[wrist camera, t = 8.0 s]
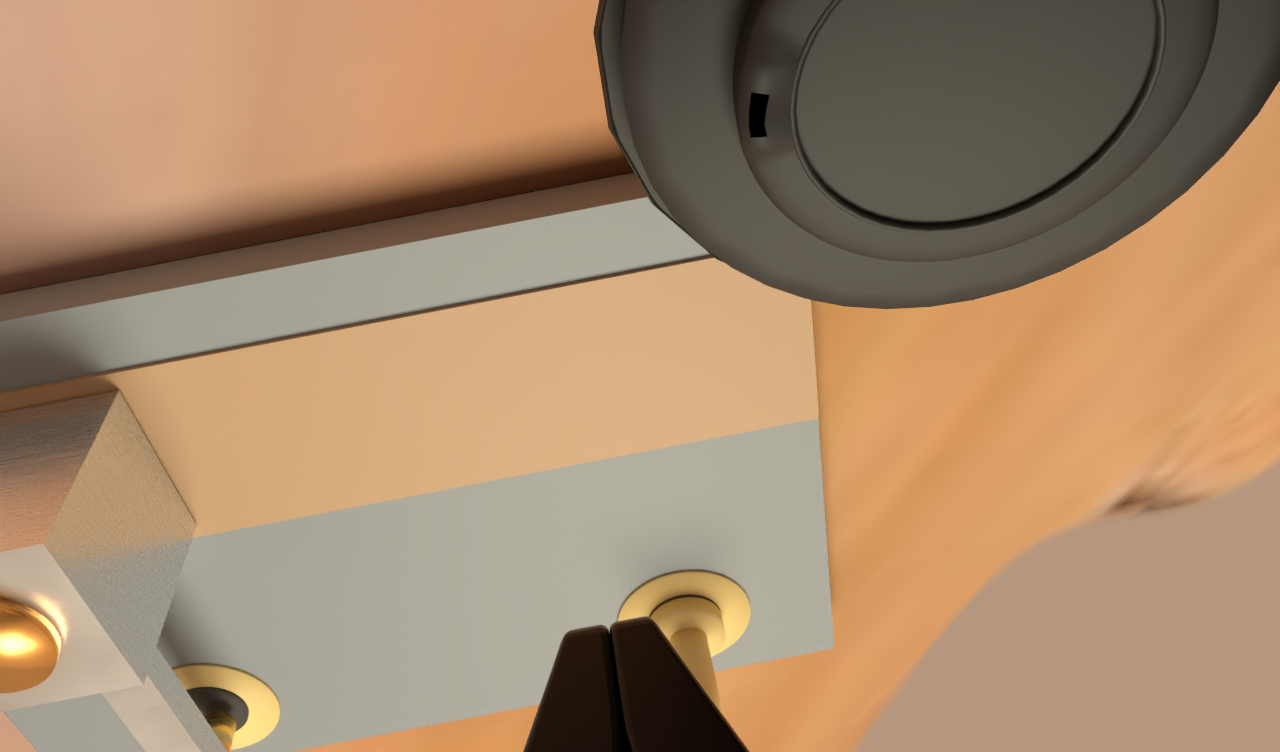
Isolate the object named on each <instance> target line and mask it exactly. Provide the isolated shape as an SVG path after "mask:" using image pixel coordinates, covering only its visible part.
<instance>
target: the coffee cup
mask: <svg viewBox="0 0 1280 752" xmlns="http://www.w3.org/2000/svg"><path fill="white" fill-rule="evenodd" d="M594 38H595V45H596V51H597V57H598V63H599V70H600V76H601V82H602V89H603V95H604V101H605V108H606V114H607V120H608V127H609V129H610V131H611V133H612V135H613V136H614V138H615V140H616V142H617V143H618V145H619V147H620V149H621V151H622V152H623V154H624V156H625V158H626V159H627V161H628V163H629V165H630V166H631V168H632V170H633V172H634V174H635V175H636V177H637V179H638V181H639V182H640V184H641V186H642V188H643V189H644V191H645V193H646V195H647V197H648V198H649V200H650V202H651V204H653V205H654V206H655V207H656V208H657V209H658V210H660V211H661V212H662V213H663V214H664V215H665V216H667V217H668V218H669V219H670V220H671V221H672V222H674V223H675V224H676V225H677V226H678V227H679V228H681V229H682V230H683V231H684V232H685V233H686V234H688V235H689V236H690V237H691V238H692V239H693V240H695V241H696V242H697V243H698V244H699V245H700V246H701V247H703V248H704V249H705V250H706V251H707V252H708V253H710V254H711V255H712V256H713V257H714V258H716V259H717V260H719V261H722V262H724V263H726V264H727V265H729V266H730V267H731V268H733V269H735V270H737V271H739V272H741V273H743V274H745V275H747V276H749V277H751V278H753V279H755V280H757V281H759V282H761V283H763V284H764V285H766V286H769V287H772V288H775V289H778V290H781V291H784V292H787V293H790V294H793V295H796V296H799V297H802V298H805V299H810V300H815V301H820V302H825V303H831V304H836V305H841V306H849V307H864V308H879V309H896V308H916V307H931V306H937V305H944V304H950V303H956V302H962V301H969V300H974V299H978V298H981V297H985V296H989V295H993V294H996V293H1000V292H1004V291H1007V290H1011V289H1015V288H1018V287H1021V286H1023V285H1026V284H1029V283H1031V282H1034V281H1036V280H1039V279H1042V278H1044V277H1047V276H1049V275H1052V274H1055V273H1057V272H1060V271H1062V270H1064V269H1066V268H1068V267H1070V266H1072V265H1074V264H1076V263H1078V262H1080V261H1082V260H1084V259H1086V258H1088V257H1090V256H1092V255H1094V254H1096V253H1098V252H1100V251H1102V250H1104V249H1106V248H1107V247H1109V246H1111V245H1112V244H1114V243H1115V242H1117V241H1118V240H1120V239H1122V238H1123V237H1125V236H1126V235H1128V234H1130V233H1131V232H1133V231H1134V230H1136V229H1137V228H1139V227H1141V226H1142V225H1144V224H1145V223H1147V222H1148V221H1149V220H1151V219H1152V218H1153V217H1155V216H1156V215H1157V214H1158V213H1160V212H1161V211H1162V210H1163V209H1165V208H1166V207H1167V206H1169V205H1170V204H1171V203H1172V202H1174V201H1175V200H1176V199H1178V198H1179V197H1180V196H1181V195H1183V194H1184V193H1185V192H1186V191H1188V190H1189V189H1190V188H1191V187H1192V186H1193V185H1194V184H1195V183H1196V182H1197V181H1198V180H1199V179H1200V178H1201V177H1202V176H1203V175H1204V174H1205V173H1206V172H1207V171H1208V170H1209V169H1210V168H1211V167H1212V166H1213V165H1214V164H1215V163H1216V162H1218V161H1219V160H1220V159H1221V158H1222V157H1223V156H1224V155H1225V153H1226V152H1227V151H1228V150H1229V149H1230V147H1231V146H1232V145H1233V144H1234V143H1235V141H1236V140H1237V139H1238V138H1239V137H1240V135H1241V134H1242V133H1243V132H1244V130H1245V129H1246V128H1247V127H1248V126H1249V124H1250V123H1251V122H1252V121H1253V120H1254V118H1255V117H1256V116H1257V115H1258V113H1259V112H1260V110H1261V109H1262V107H1263V105H1264V104H1265V102H1266V101H1267V99H1268V98H1269V96H1270V95H1271V93H1272V92H1273V90H1274V88H1275V87H1276V85H1277V84H1278V82H1279V81H1280V0H599V5H598V10H597V16H596V21H595V27H594Z"/></svg>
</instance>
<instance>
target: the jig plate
mask: <svg viewBox="0 0 1280 752" xmlns="http://www.w3.org/2000/svg"><path fill="white" fill-rule="evenodd" d="M118 390H119V391H120V393H121V395H122V396H123V398H124V400H125V402H126V403H127V405H128V407H129V408H130V410H131V412H132V414H133V415H134V417H135V419H136V421H137V422H138V424H139V426H140V428H141V429H142V431H143V433H144V435H145V436H146V438H147V440H148V441H149V443H150V445H151V447H152V448H153V450H154V452H155V454H156V455H157V457H158V459H159V461H160V462H161V464H162V466H163V467H164V469H165V471H166V473H167V474H168V476H169V478H170V480H171V481H172V483H173V485H174V487H175V488H176V490H177V492H178V493H179V495H180V497H181V499H182V500H183V502H184V504H185V506H186V507H187V509H188V511H189V513H190V514H191V516H192V518H193V520H194V521H195V523H196V525H197V526H196V529H195V532H194V535H193V538H192V541H191V544H190V547H189V550H188V553H187V556H186V559H185V562H184V565H183V568H182V571H181V574H180V577H179V580H178V583H177V586H176V589H175V592H174V595H173V598H172V601H171V604H170V607H169V610H168V613H167V616H166V619H165V622H164V625H163V628H162V631H161V634H160V637H159V640H158V643H157V648H158V649H159V651H160V652H161V654H162V655H163V657H164V658H165V660H166V661H167V663H168V664H169V666H170V667H171V669H172V670H173V672H174V673H175V675H176V676H177V678H178V679H179V680H180V682H181V683H182V685H183V686H184V688H185V689H186V691H187V692H188V694H189V695H190V697H191V698H192V700H193V701H194V703H195V704H196V706H197V707H198V709H199V710H200V712H201V713H202V715H203V716H204V715H206V714H208V713H211V712H224V713H227V714H230V715H231V716H233V717H234V718H235V719H236V722H237V725H236V729H235V733H234V738H233V742H232V746H231V750H230V752H293V751H298V750H303V749H308V748H314V747H319V746H324V745H329V744H335V743H340V742H345V741H350V740H356V739H361V738H366V737H371V736H377V735H382V734H387V733H392V732H398V731H403V730H408V729H413V728H419V727H424V726H429V725H434V724H440V723H445V722H450V721H455V720H461V719H466V718H471V717H476V716H482V715H487V714H492V713H497V712H503V711H508V710H513V709H519V708H524V707H529V706H534V705H540V702H541V699H542V696H543V693H544V690H545V687H546V684H547V681H548V679H549V676H550V673H551V670H552V667H553V664H554V661H555V658H556V655H557V652H558V649H559V646H560V644H561V641H562V638H563V637H564V635H565V634H566V633H567V632H568V631H570V630H574V629H579V628H584V627H590V626H595V625H604V626H606V627H607V628H608V630H609V629H610V626H611V625H612V624H613V623H614V622H616V621H622V620H627V619H632V618H638V617H643V616H648V617H650V618H652V619H653V620H654V621H655V622H656V623H657V625H658V626H659V627H660V629H661V630H662V632H663V633H664V634H665V636H666V637H667V638H668V640H669V641H670V643H671V644H672V645H673V647H674V648H675V649H676V651H677V652H678V654H679V655H680V656H681V658H682V659H683V660H684V662H685V663H686V665H687V666H688V667H689V669H690V670H691V672H692V673H693V674H694V676H695V677H696V678H697V680H698V681H699V683H700V684H701V685H702V687H703V688H704V689H705V691H706V692H707V694H708V695H709V696H710V698H711V699H712V700H713V702H714V703H715V705H716V706H717V707H718V709H719V710H720V711H721V713H722V708H721V703H720V698H719V693H718V688H717V683H716V678H715V674H714V671H718V670H723V669H729V668H734V667H739V666H744V665H750V664H755V663H760V662H765V661H771V660H776V659H781V658H786V657H792V656H797V655H802V654H807V653H813V652H818V651H823V650H828V649H834V638H833V624H832V609H831V595H830V580H829V566H828V551H827V537H826V523H825V508H824V494H823V479H822V465H821V450H820V436H819V422H818V418H819V409H818V394H817V380H816V365H815V351H814V336H813V322H812V307H811V300H810V299H805V298H802V297H799V296H796V295H793V294H790V293H787V292H784V291H781V290H778V289H775V288H772V287H769V286H766V285H764V284H763V283H761V282H759V281H757V280H755V279H753V278H751V277H749V276H747V275H745V274H743V273H741V272H739V271H737V270H735V269H733V268H731V267H730V266H729V265H727V264H726V263H724V262H722V261H719V260H717V259H716V258H714V257H713V256H712V255H711V254H710V253H708V252H707V251H706V250H705V249H704V248H703V247H701V246H700V245H699V244H698V243H697V242H696V241H695V240H693V239H692V238H691V237H690V236H689V235H688V234H686V233H685V232H684V231H683V230H682V229H681V228H679V227H678V226H677V225H676V224H675V223H674V222H672V221H671V220H670V219H669V218H668V217H667V216H665V215H664V214H663V213H662V212H661V211H660V210H658V209H657V208H656V207H655V206H654V205H653V204H651V202H650V200H649V198H648V197H647V195H646V193H645V191H644V189H643V188H642V186H641V184H640V182H639V181H638V179H637V177H636V175H635V174H634V173H629V174H624V175H618V176H613V177H608V178H603V179H598V180H593V181H587V182H582V183H577V184H572V185H567V186H561V187H556V188H551V189H546V190H541V191H535V192H530V193H525V194H520V195H515V196H510V197H504V198H499V199H494V200H489V201H484V202H478V203H473V204H468V205H463V206H458V207H452V208H447V209H442V210H437V211H432V212H427V213H421V214H416V215H411V216H406V217H401V218H395V219H390V220H385V221H380V222H375V223H370V224H364V225H359V226H354V227H349V228H344V229H338V230H333V231H328V232H323V233H318V234H312V235H307V236H302V237H297V238H292V239H287V240H281V241H276V242H271V243H266V244H261V245H255V246H250V247H245V248H240V249H235V250H229V251H224V252H219V253H214V254H209V255H204V256H198V257H193V258H188V259H183V260H178V261H172V262H167V263H162V264H157V265H152V266H146V267H141V268H136V269H131V270H126V271H121V272H115V273H110V274H105V275H100V276H95V277H89V278H84V279H79V280H74V281H69V282H64V283H58V284H53V285H48V286H43V287H38V288H32V289H27V290H22V291H17V292H12V293H6V294H1V295H0V413H4V412H9V411H14V410H19V409H24V408H30V407H35V406H40V405H45V404H50V403H56V402H61V401H66V400H71V399H76V398H82V397H87V396H92V395H97V394H102V393H108V392H113V391H118ZM609 633H610V632H609ZM4 713H5V714H6V716H7V717H8V718H9V719H10V720H11V721H12V723H13V724H14V725H15V726H16V727H17V728H18V730H19V731H20V732H21V733H22V734H23V735H24V737H25V738H26V739H27V740H28V741H29V742H30V743H31V745H32V746H33V747H34V748H35V749H36V750H37V752H145V750H144V749H143V748H142V746H141V745H140V744H139V742H138V741H137V740H136V739H135V737H134V736H133V735H132V733H131V732H130V731H129V729H128V728H127V727H126V725H125V724H124V723H123V721H122V720H121V719H120V717H119V716H118V715H117V713H116V712H115V711H114V709H113V708H112V707H111V705H110V704H109V703H108V701H107V700H106V699H105V697H104V696H103V695H102V694H101V693H99V694H93V695H88V696H83V697H78V698H73V699H67V700H62V701H57V702H52V703H46V704H41V705H36V706H31V707H25V708H20V709H15V710H10V711H4ZM722 714H723V713H722Z"/></svg>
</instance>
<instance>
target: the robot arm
mask: <svg viewBox="0 0 1280 752" xmlns="http://www.w3.org/2000/svg"><path fill="white" fill-rule="evenodd" d="M609 632H610V633H609ZM523 752H750V751H749V750H748V749H747V747H746V746H745V745H744V743H743V742H742V740H741V739H740V738H739V736H738V735H737V734H736V732H735V731H734V729H733V728H732V727H731V725H730V724H729V723H728V721H727V720H726V718H725V717H724V716H723V714H722V713H721V711H720V710H719V709H718V707H717V706H716V705H715V703H714V702H713V700H712V699H711V698H710V696H709V695H708V694H707V692H706V691H705V689H704V688H703V687H702V685H701V684H700V683H699V681H698V680H697V678H696V677H695V676H694V674H693V673H692V672H691V670H690V669H689V667H688V666H687V665H686V663H685V662H684V660H683V659H682V658H681V656H680V655H679V654H678V652H677V651H676V649H675V648H674V647H673V645H672V644H671V643H670V641H669V640H668V638H667V637H666V636H665V634H664V633H663V632H662V630H661V629H660V627H659V626H658V625H657V623H656V622H655V621H654V620H653V619H652V618H650V617H648V616H643V617H638V618H632V619H627V620H622V621H616V622H614V623H613V624H612V625H611V626H610V629H609V630H608V628H607V627H606V626H604V625H595V626H590V627H584V628H579V629H574V630H570V631H568V632H567V633H566V634H565V635H564V637H563V638H562V641H561V644H560V646H559V649H558V652H557V655H556V658H555V661H554V664H553V667H552V670H551V673H550V676H549V679H548V681H547V684H546V687H545V690H544V693H543V696H542V699H541V702H540V705H539V708H538V711H537V713H536V716H535V719H534V722H533V725H532V728H531V731H530V734H529V737H528V740H527V743H526V745H525V748H524V751H523Z"/></svg>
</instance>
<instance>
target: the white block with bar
mask: <svg viewBox="0 0 1280 752" xmlns="http://www.w3.org/2000/svg"><path fill="white" fill-rule="evenodd" d="M196 526H197V525H196V523H195V521H194V520H193V518H192V516H191V514H190V513H189V511H188V509H187V507H186V506H185V504H184V502H183V500H182V499H181V497H180V495H179V493H178V492H177V490H176V488H175V487H174V485H173V483H172V481H171V480H170V478H169V476H168V474H167V473H166V471H165V469H164V467H163V466H162V464H161V462H160V461H159V459H158V457H157V455H156V454H155V452H154V450H153V448H152V447H151V445H150V443H149V441H148V440H147V438H146V436H145V435H144V433H143V431H142V429H141V428H140V426H139V424H138V422H137V421H136V419H135V417H134V415H133V414H132V412H131V410H130V408H129V407H128V405H127V403H126V402H125V400H124V398H123V396H122V395H121V393H120V391H119V390H118V391H113V392H108V393H102V394H97V395H92V396H87V397H82V398H76V399H71V400H66V401H61V402H56V403H50V404H45V405H40V406H35V407H30V408H24V409H19V410H14V411H9V412H4V413H0V712H4V711H10V710H15V709H20V708H25V707H31V706H36V705H41V704H46V703H52V702H57V701H62V700H67V699H73V698H78V697H83V696H88V695H93V694H99V693H101V694H102V695H103V696H104V697H105V699H106V700H107V701H108V703H109V704H110V705H111V707H112V708H113V709H114V711H115V712H116V713H117V715H118V716H119V717H120V719H121V720H122V721H123V723H124V724H125V725H126V727H127V728H128V729H129V731H130V732H131V733H132V735H133V736H134V737H135V739H136V740H137V741H138V742H139V744H140V745H141V746H142V748H143V749H144V750H145V752H230V750H231V746H232V742H233V738H234V733H235V729H236V725H237V722H236V719H235V718H234V717H233V716H231V715H230V714H227V713H224V712H211V713H208V714H206V715H204V716H203V715H202V713H201V712H200V710H199V709H198V707H197V706H196V704H195V703H194V701H193V700H192V698H191V697H190V695H189V694H188V692H187V691H186V689H185V688H184V686H183V685H182V683H181V682H180V680H179V679H178V678H177V676H176V675H175V673H174V672H173V670H172V669H171V667H170V666H169V664H168V663H167V661H166V660H165V658H164V657H163V655H162V654H161V652H160V651H159V649H158V648H157V643H158V640H159V637H160V634H161V631H162V628H163V625H164V622H165V619H166V616H167V613H168V610H169V607H170V604H171V601H172V598H173V595H174V592H175V589H176V586H177V583H178V580H179V577H180V574H181V571H182V568H183V565H184V562H185V559H186V556H187V553H188V550H189V547H190V544H191V541H192V538H193V535H194V532H195V529H196Z"/></svg>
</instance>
